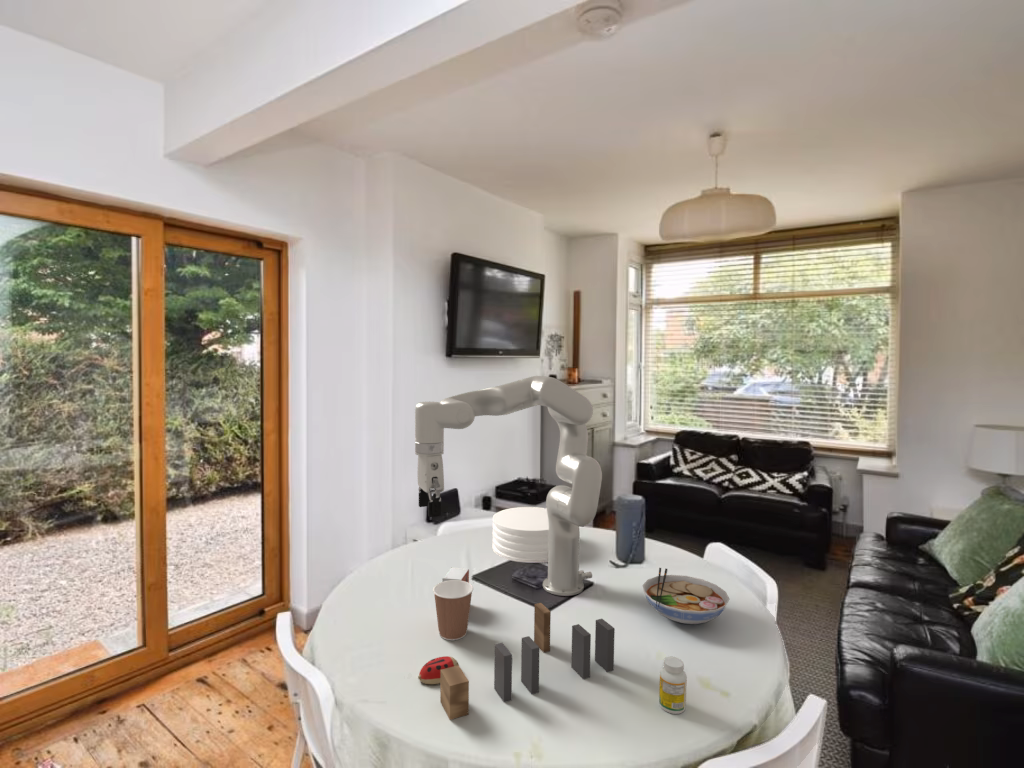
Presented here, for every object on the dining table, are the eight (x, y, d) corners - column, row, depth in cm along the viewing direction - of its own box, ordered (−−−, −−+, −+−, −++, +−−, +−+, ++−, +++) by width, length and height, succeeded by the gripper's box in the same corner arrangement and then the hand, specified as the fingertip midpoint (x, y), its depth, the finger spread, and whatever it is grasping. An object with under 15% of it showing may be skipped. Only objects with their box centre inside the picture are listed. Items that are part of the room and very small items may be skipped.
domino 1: (501, 686, 119) (502, 642, 119) (511, 700, 115) (512, 654, 114) (494, 688, 119) (494, 644, 118) (503, 702, 114) (504, 656, 113)
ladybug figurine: (465, 676, 123) (465, 661, 123) (425, 692, 118) (425, 676, 117) (451, 662, 129) (451, 648, 128) (412, 676, 123) (412, 661, 123)
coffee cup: (479, 627, 145) (479, 583, 144) (463, 647, 135) (463, 600, 134) (443, 620, 148) (443, 577, 147) (425, 639, 138) (425, 593, 137)
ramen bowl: (729, 649, 135) (730, 617, 135) (636, 631, 143) (636, 601, 143) (727, 604, 159) (728, 577, 158) (646, 592, 167) (647, 565, 166)
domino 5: (601, 659, 130) (602, 618, 130) (613, 670, 126) (614, 628, 125) (594, 660, 130) (595, 620, 129) (607, 672, 125) (608, 629, 125)
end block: (458, 697, 116) (458, 665, 115) (468, 714, 110) (468, 681, 110) (440, 702, 114) (440, 669, 114) (449, 719, 109) (449, 686, 108)
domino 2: (528, 679, 122) (528, 636, 121) (538, 692, 118) (539, 647, 117) (521, 681, 121) (521, 637, 121) (531, 694, 117) (531, 649, 116)
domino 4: (577, 665, 128) (578, 624, 127) (589, 677, 123) (590, 634, 123) (571, 667, 127) (572, 625, 126) (583, 679, 122) (583, 636, 122)
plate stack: (489, 536, 215) (490, 507, 214) (560, 534, 218) (560, 506, 217) (495, 564, 187) (495, 531, 186) (575, 561, 190) (576, 529, 189)
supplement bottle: (679, 718, 110) (680, 672, 109) (654, 707, 113) (655, 662, 113) (689, 705, 114) (691, 661, 113) (665, 694, 117) (666, 651, 117)
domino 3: (540, 641, 138) (540, 602, 137) (550, 651, 134) (550, 611, 133) (534, 642, 137) (534, 604, 137) (543, 652, 133) (544, 612, 132)
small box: (461, 617, 150) (461, 580, 149) (441, 615, 151) (441, 578, 150) (469, 604, 158) (469, 568, 157) (450, 602, 159) (450, 566, 158)
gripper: (453, 453, 139) (452, 518, 141) (433, 442, 155) (433, 501, 156) (424, 455, 136) (424, 522, 138) (407, 443, 152) (407, 504, 153)
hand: (429, 511), depth 147 cm, fingers open, 9 cm apart
